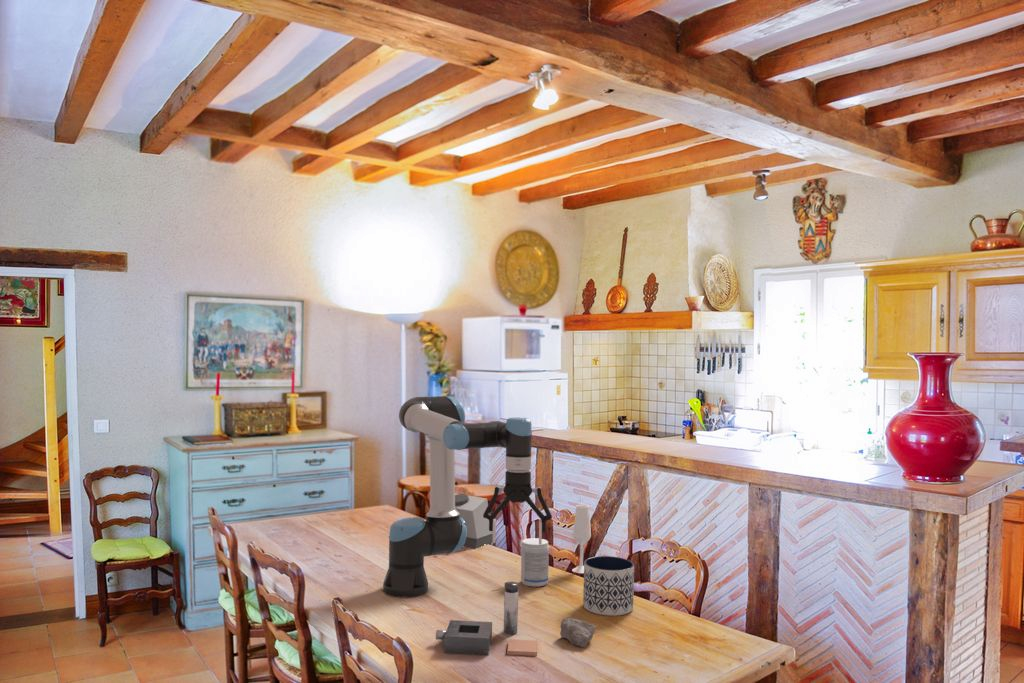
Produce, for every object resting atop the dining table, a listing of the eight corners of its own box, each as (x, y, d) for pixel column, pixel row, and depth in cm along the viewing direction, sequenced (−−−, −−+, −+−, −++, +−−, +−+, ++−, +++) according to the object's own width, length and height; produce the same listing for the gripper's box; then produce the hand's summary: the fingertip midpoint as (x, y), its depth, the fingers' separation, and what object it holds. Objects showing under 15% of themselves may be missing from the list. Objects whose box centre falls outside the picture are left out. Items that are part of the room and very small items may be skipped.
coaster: (507, 654, 205) (507, 650, 205) (508, 642, 213) (508, 639, 213) (537, 655, 204) (537, 652, 204) (537, 644, 212) (537, 640, 212)
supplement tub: (553, 584, 265) (554, 542, 265) (531, 589, 260) (532, 546, 260) (537, 577, 273) (538, 536, 273) (515, 581, 268) (516, 539, 268)
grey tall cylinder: (503, 634, 219) (504, 585, 219) (503, 629, 223) (505, 581, 223) (517, 635, 219) (518, 586, 219) (517, 629, 223) (518, 581, 223)
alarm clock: (493, 542, 320) (494, 494, 320) (471, 550, 307) (473, 500, 307) (454, 534, 331) (455, 488, 331) (432, 542, 318) (433, 493, 318)
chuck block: (432, 652, 205) (433, 635, 205) (439, 635, 217) (439, 619, 217) (488, 655, 204) (488, 638, 204) (491, 637, 216) (492, 622, 216)
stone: (553, 642, 214) (553, 621, 214) (567, 633, 221) (567, 613, 221) (584, 650, 209) (584, 629, 209) (597, 641, 216) (598, 620, 216)
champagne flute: (585, 574, 278) (586, 508, 278) (568, 571, 281) (570, 506, 281) (593, 570, 284) (594, 505, 284) (577, 566, 287) (578, 503, 287)
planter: (601, 619, 232) (602, 572, 232) (573, 603, 247) (574, 559, 247) (643, 612, 240) (644, 566, 240) (614, 597, 254) (615, 553, 254)
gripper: (475, 471, 221) (473, 544, 221) (561, 473, 221) (559, 546, 220) (477, 467, 229) (475, 538, 228) (560, 469, 228) (559, 540, 228)
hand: (517, 542), depth 224 cm, fingers open, 13 cm apart
